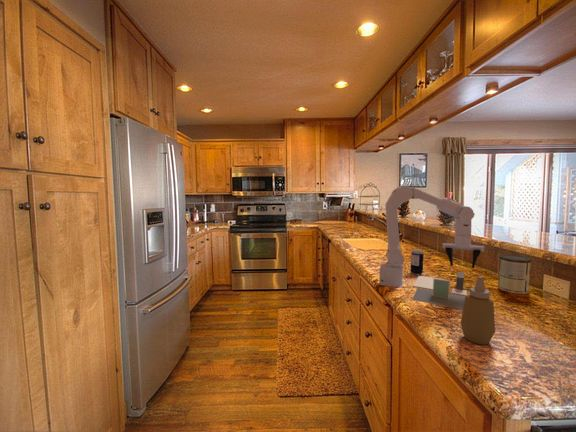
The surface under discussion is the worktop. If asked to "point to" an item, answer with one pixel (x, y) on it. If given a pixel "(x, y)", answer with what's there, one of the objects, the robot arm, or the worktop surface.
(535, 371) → the worktop surface
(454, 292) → the grey bar
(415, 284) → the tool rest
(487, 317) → the squeeze bottle
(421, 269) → the beverage can
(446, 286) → the tile
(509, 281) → the coffee can
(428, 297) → the mat
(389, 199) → the robot arm
